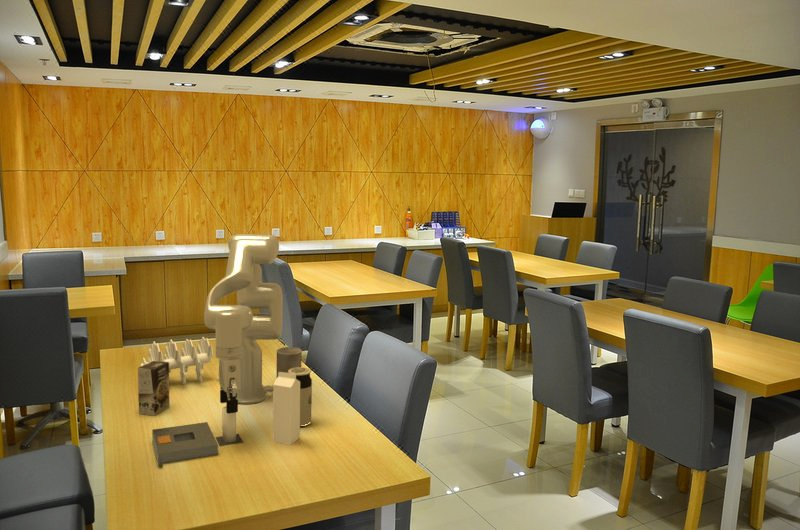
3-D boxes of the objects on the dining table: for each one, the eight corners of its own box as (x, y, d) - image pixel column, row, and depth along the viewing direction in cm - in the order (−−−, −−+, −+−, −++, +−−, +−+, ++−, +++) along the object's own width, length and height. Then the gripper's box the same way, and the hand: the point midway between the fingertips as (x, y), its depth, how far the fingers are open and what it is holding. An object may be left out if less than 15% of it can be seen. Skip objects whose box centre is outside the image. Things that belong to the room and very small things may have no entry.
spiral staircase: (141, 395, 238) (207, 383, 251) (148, 389, 224) (218, 376, 237) (134, 349, 242) (200, 338, 255) (140, 339, 227) (209, 329, 240)
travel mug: (282, 425, 204) (282, 372, 202) (294, 417, 212) (294, 365, 209) (303, 429, 202) (304, 375, 199) (315, 421, 209) (316, 368, 207)
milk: (282, 437, 195) (283, 368, 192) (300, 440, 193) (300, 371, 191) (272, 444, 190) (273, 374, 187) (290, 448, 188) (291, 376, 185)
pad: (238, 436, 194) (238, 433, 194) (243, 445, 188) (243, 442, 188) (215, 440, 191) (215, 437, 191) (219, 449, 185) (219, 446, 185)
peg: (234, 436, 192) (234, 405, 191) (237, 441, 189) (237, 409, 187) (221, 438, 191) (221, 406, 189) (223, 443, 187) (223, 411, 186)
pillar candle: (279, 379, 250) (279, 343, 248) (303, 380, 250) (303, 344, 247) (273, 388, 240) (273, 350, 238) (299, 389, 240) (299, 351, 238)
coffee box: (155, 416, 209) (154, 369, 206) (138, 414, 210) (136, 367, 208) (170, 406, 218) (169, 361, 215) (153, 404, 219) (152, 359, 217)
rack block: (207, 434, 196) (207, 421, 195) (217, 457, 180) (217, 443, 179) (152, 442, 188) (152, 429, 188) (158, 467, 173) (158, 453, 172)
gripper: (248, 357, 180) (247, 415, 182) (235, 344, 195) (235, 397, 197) (221, 359, 176) (221, 418, 178) (210, 345, 192) (210, 400, 194)
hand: (228, 407), depth 188 cm, fingers open, 9 cm apart
